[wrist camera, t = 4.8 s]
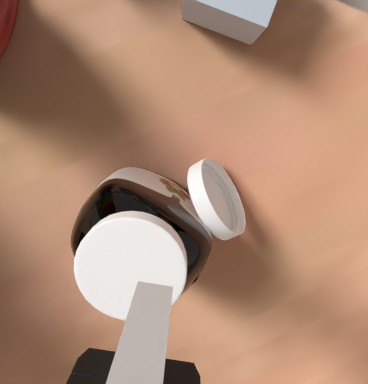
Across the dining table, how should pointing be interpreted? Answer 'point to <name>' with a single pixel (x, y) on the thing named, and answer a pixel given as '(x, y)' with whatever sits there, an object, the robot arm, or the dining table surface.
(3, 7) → the stacking bear
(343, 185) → the dining table surface
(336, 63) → the dining table surface
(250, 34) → the pip block three
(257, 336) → the dining table surface
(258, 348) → the dining table surface
